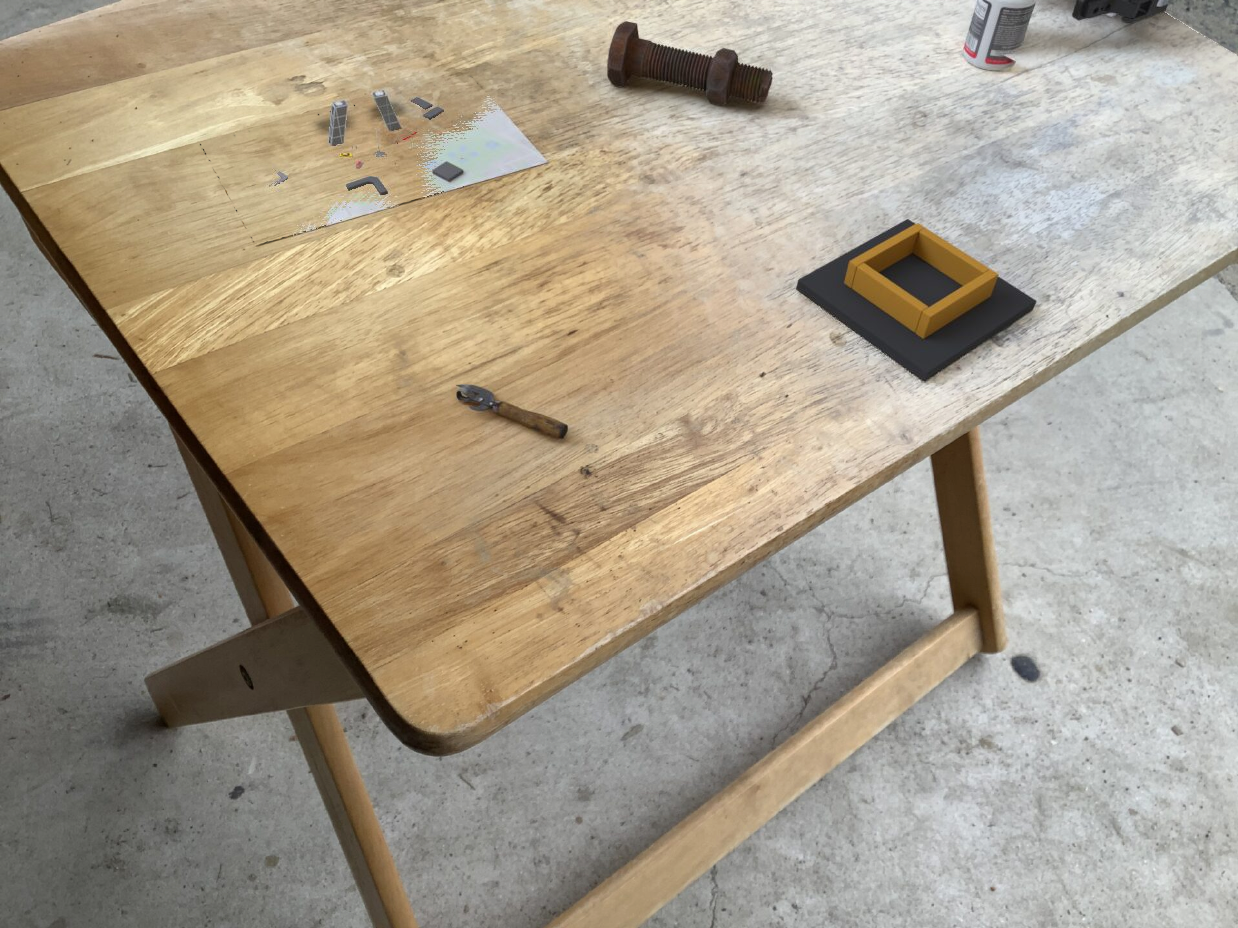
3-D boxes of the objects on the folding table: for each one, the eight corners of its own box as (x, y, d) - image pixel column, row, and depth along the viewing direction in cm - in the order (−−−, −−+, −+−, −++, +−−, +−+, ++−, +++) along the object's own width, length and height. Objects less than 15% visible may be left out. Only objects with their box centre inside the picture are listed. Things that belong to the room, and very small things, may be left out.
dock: (1033, 310, 84) (1046, 278, 82) (924, 382, 79) (935, 350, 76) (904, 228, 91) (914, 196, 88) (795, 289, 85) (802, 256, 83)
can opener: (569, 433, 74) (569, 421, 73) (550, 455, 73) (550, 443, 72) (463, 381, 77) (462, 369, 76) (443, 401, 76) (441, 389, 75)
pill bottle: (1022, 55, 111) (1054, -42, 103) (1006, 78, 107) (1038, -21, 100) (971, 40, 112) (999, -57, 105) (953, 62, 109) (981, -36, 102)
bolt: (760, 128, 103) (610, 92, 105) (775, 81, 104) (625, 47, 106) (762, 95, 98) (603, 58, 100) (778, 46, 98) (620, 10, 101)
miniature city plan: (255, 246, 86) (244, 207, 83) (198, 143, 95) (187, 104, 93) (548, 162, 95) (547, 124, 92) (471, 75, 104) (468, 38, 101)
